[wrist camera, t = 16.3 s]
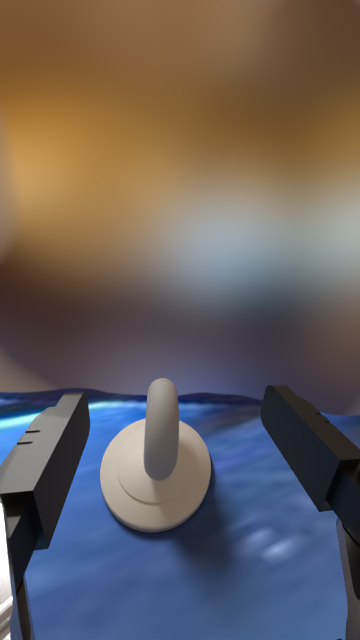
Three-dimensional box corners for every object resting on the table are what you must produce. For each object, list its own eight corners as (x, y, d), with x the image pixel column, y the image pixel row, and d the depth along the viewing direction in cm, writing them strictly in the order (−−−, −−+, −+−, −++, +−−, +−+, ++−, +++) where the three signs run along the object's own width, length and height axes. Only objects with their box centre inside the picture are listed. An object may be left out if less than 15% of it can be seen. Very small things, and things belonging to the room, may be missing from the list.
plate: (197, 419, 31) (198, 413, 31) (225, 523, 19) (227, 515, 19) (112, 423, 29) (112, 417, 29) (83, 541, 17) (83, 533, 17)
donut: (176, 505, 19) (184, 423, 16) (140, 508, 19) (142, 424, 16) (171, 423, 29) (175, 362, 26) (147, 424, 28) (148, 362, 25)
